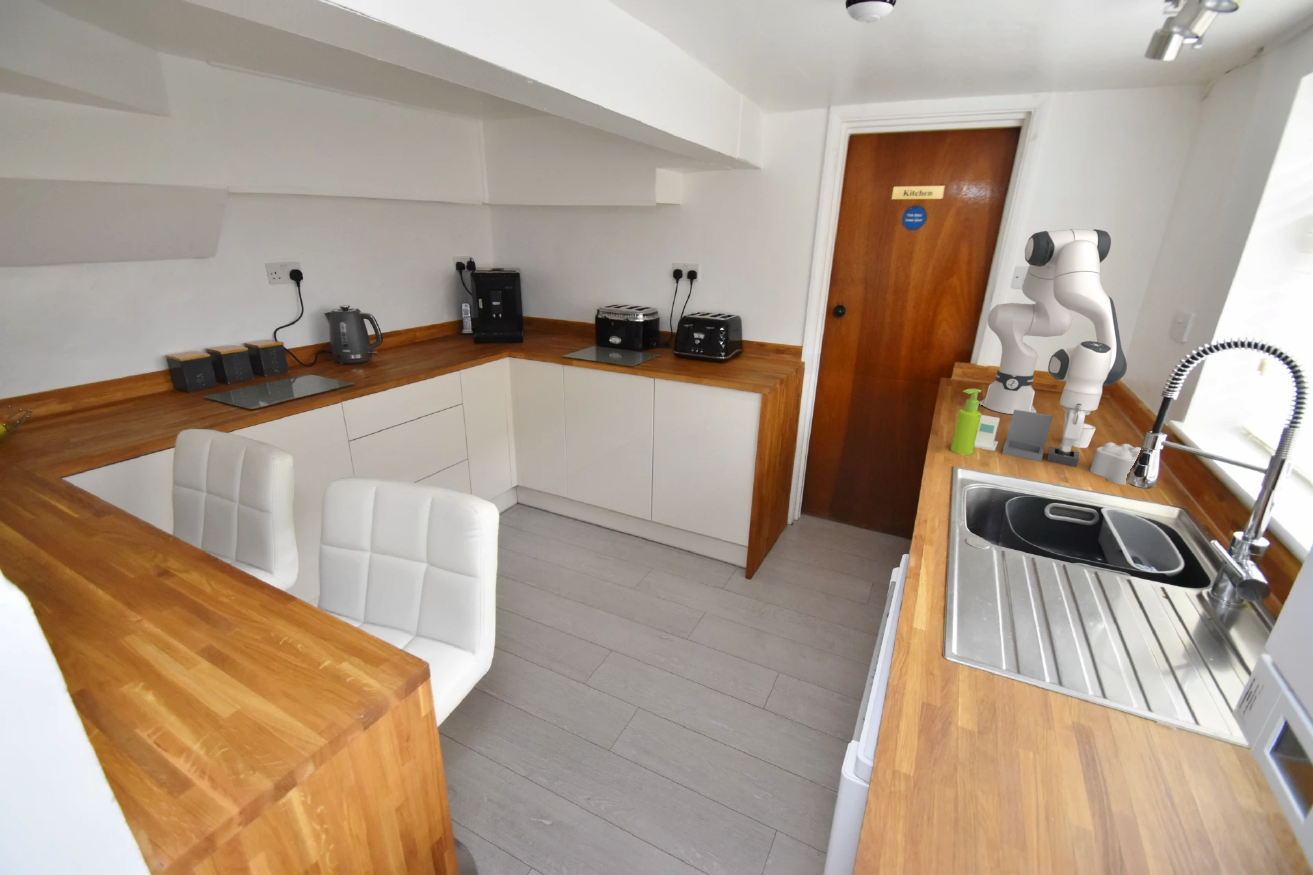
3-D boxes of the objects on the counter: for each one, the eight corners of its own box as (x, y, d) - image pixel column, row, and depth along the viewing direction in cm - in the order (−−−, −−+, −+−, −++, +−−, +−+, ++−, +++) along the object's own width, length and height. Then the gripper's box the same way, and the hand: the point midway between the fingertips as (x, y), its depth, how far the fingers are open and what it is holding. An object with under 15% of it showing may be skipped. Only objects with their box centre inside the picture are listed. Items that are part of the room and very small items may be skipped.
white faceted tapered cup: (1066, 440, 185) (1072, 420, 183) (1091, 446, 181) (1098, 425, 178) (1060, 445, 181) (1067, 425, 178) (1087, 452, 176) (1093, 430, 174)
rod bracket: (1047, 455, 172) (1050, 446, 171) (1076, 461, 169) (1078, 451, 168) (1046, 463, 167) (1049, 453, 166) (1075, 468, 163) (1078, 459, 162)
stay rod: (1067, 461, 168) (1074, 436, 165) (1066, 464, 166) (1074, 439, 163) (1055, 459, 170) (1063, 434, 167) (1055, 462, 168) (1062, 436, 165)
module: (976, 438, 182) (981, 414, 179) (994, 442, 179) (1000, 418, 176) (973, 443, 178) (979, 419, 175) (992, 447, 175) (998, 422, 172)
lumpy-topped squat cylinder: (1083, 472, 161) (1092, 443, 158) (1110, 465, 167) (1119, 437, 164) (1124, 487, 153) (1134, 457, 150) (1151, 479, 158) (1161, 450, 155)
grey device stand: (1004, 445, 180) (1014, 409, 175) (1042, 453, 174) (1052, 415, 170) (1001, 455, 172) (1011, 417, 168) (1040, 463, 167) (1051, 424, 162)
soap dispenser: (943, 451, 174) (957, 387, 167) (959, 448, 177) (973, 385, 170) (959, 458, 169) (974, 393, 162) (976, 455, 172) (991, 391, 165)
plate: (972, 440, 184) (973, 436, 183) (997, 445, 180) (998, 441, 180) (968, 447, 178) (969, 443, 177) (994, 452, 174) (995, 449, 173)
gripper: (1094, 411, 152) (1079, 459, 156) (1092, 394, 167) (1079, 438, 172) (1065, 407, 155) (1051, 454, 160) (1066, 390, 171) (1054, 434, 176)
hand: (1066, 446), depth 166 cm, fingers open, 8 cm apart
